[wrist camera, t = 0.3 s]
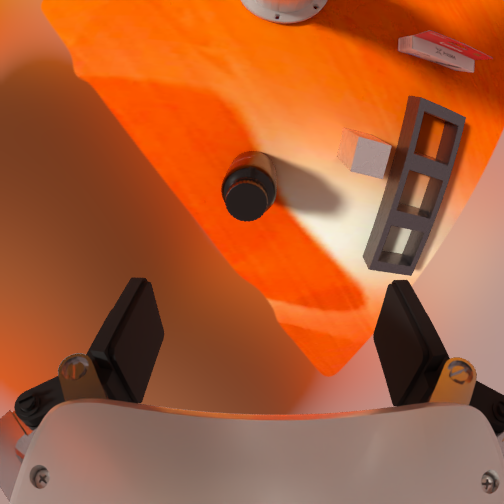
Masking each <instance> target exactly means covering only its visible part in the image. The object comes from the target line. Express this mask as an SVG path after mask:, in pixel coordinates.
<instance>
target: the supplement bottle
mask: <svg viewBox="0 0 504 504" xmlns="http://www.w3.org/2000/svg"><path fill="white" fill-rule="evenodd" d="M276 192H277V185H276V169H275V166H274V164H273V162H272V160H271V159H270V158H269V157H268V156H266V155H265V154H263V153H260V152H257V151H248V152H244V153H242V154H240V155H239V156H237V157H236V158H235V159H234V161H233V162H232V164H231V166H230V167H229V169H228V171H227V174H226V176H225V178H224V180H223V183H222V188H221V193H222V197H223V200H224V202H225V205H226V206H227V209H228V212H229V213H230V214H231V215H232V216H233V217H234V218H236V219H237V220H241V221H254V220H256V219H258V218H260V217H261V216H262V215H263V214H264V212H266V211H267V210H268V209H269V208H270V207H271V206H272V204H273V203H274V201H275V198H276Z"/></svg>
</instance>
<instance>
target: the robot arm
mask: <svg viewBox="0 0 504 504" xmlns="http://www.w3.org/2000/svg"><path fill="white" fill-rule="evenodd" d="M241 2H242V4H243V5H244V6H245V7H246V8H247V9H248V10H249V11H250V12H251V13H253V14H254V15H256V16H258V17H259V18H261V19H264V20H267V21H270V22H275V23H284V24H289V23H297V22H301V21H305V20H307V19H309V18H311V17H313V16H314V15H316V14H317V13H318V12H319V11H320V10H321V9H322V8H323V7H324V5H325V4H326V2H327V0H241ZM313 7H316V8H317V9H314V8H313ZM276 17H279V19H276ZM163 338H164V330H163V326H162V322H161V319H160V315H159V311H158V308H157V304H156V300H155V296H154V292H153V288H152V285H151V283H150V282H148V281H147V279H146V278H131V279H130V281H129V283H128V284H127V286H126V287H125V289H124V291H123V292H122V294H121V296H120V297H119V299H118V301H117V303H116V304H115V306H114V308H113V309H112V310H111V311H110V313H109V315H108V316H107V318H106V320H105V321H104V324H103V325H102V327H101V329H100V330H99V332H98V334H97V336H96V338H95V340H94V341H93V343H92V345H91V347H90V349H89V351H88V352H87V354H86V355H85V354H82V353H77V354H73V355H70V356H68V357H66V358H65V359H64V360H63V361H62V362H61V364H60V365H59V368H58V376H57V377H55V378H53V379H51V380H48V381H46V382H44V383H42V384H40V385H38V386H36V387H34V388H31V389H29V390H28V391H25V392H24V393H22V394H21V395H20V396H19V397H18V399H17V400H16V402H15V411H13V412H11V411H10V410H9V412H7V413H6V414H5V415H4V416H2V418H0V487H1V489H2V491H3V492H4V494H5V495H6V497H7V499H8V500H9V502H10V504H504V395H502V394H500V393H498V392H496V391H495V390H493V389H491V388H489V387H487V386H485V385H484V384H482V383H480V382H478V381H476V378H477V373H476V370H475V368H474V366H473V365H472V364H471V363H470V362H469V361H467V360H466V359H463V358H460V357H454V358H451V359H450V358H449V356H448V354H447V352H446V350H445V348H444V346H443V344H442V342H441V340H440V337H439V336H438V334H437V332H436V330H435V328H434V326H433V324H432V322H431V320H430V318H429V316H428V315H427V313H426V312H425V310H424V308H423V306H422V304H421V302H420V301H419V299H418V297H417V295H416V294H415V292H414V290H413V288H412V287H411V285H410V283H409V282H408V280H394V281H393V282H392V284H389V285H388V288H387V291H386V295H385V298H384V302H383V305H382V308H381V312H380V315H379V318H378V321H377V325H376V328H375V331H374V343H375V346H376V349H377V352H378V355H379V358H380V362H381V365H382V368H383V372H384V375H385V378H386V382H387V386H388V389H389V393H390V397H391V400H392V403H393V405H394V406H397V407H389V408H381V409H372V410H362V411H352V412H340V413H325V414H300V415H255V414H254V415H253V414H231V413H214V412H203V411H191V410H182V409H174V408H166V407H159V406H151V405H144V404H138V403H141V402H142V400H143V397H144V394H145V391H146V388H147V385H148V382H149V379H150V376H151V373H152V370H153V367H154V364H155V361H156V358H157V356H158V352H159V350H160V347H161V344H162V341H163Z"/></svg>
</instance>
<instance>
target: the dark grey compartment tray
mask: <svg viewBox="0 0 504 504" xmlns="http://www.w3.org/2000/svg"><path fill="white" fill-rule="evenodd" d="M424 113H426V114H428V115H431V116H433V117H436V118H438V119H441V120H443V121H445V125H444V130H443V134H442V138H441V141H440V145H439V149H438V153H437V156H436V159H435V158H432V157H430V156H427V155H424V154H421V153H418V152H415V147H416V143H417V139H418V135H419V131H420V127H421V123H422V119H423V114H424ZM465 119H466V117H464V116H462V115H460V114H457V113H455V112H453V111H451V110H449V109H447V108H444V107H442V106H440V105H438V104H435V103H433V102H431V101H428V100H426V99H423V98H421V97H415V96H409V97H408V102H407V107H406V112H405V116H404V120H403V125H402V129H401V133H400V137H399V141H398V145H397V149H396V153H395V156H394V160H393V164H392V167H391V171H390V174H389V178H388V181H387V185H386V188H385V191H384V195H383V198H382V201H381V204H380V207H379V211H378V214H377V217H376V220H375V223H374V226H373V229H372V232H371V235H370V237H369V240H368V243H367V246H366V249H365V251H364V254H363V258H364V260H365V262H366V264H367V267H368V269H370V270H376V271H383V272H390V273H396V274H403V275H410V276H411V275H412V273H413V271H414V268H415V266H416V264H417V262H418V260H419V257H420V255H421V253H422V250H423V248H424V246H425V243H426V241H427V238H428V236H429V233H430V231H431V228H432V226H433V223H434V221H435V218H436V215H437V213H438V210H439V207H440V204H441V202H442V199H443V196H444V193H445V190H446V187H447V184H448V181H449V178H450V175H451V171H452V168H453V165H454V161H455V158H456V154H457V151H458V147H459V143H460V140H461V136H462V132H463V127H464V123H465ZM409 170H411V171H415V172H418V173H421V174H424V175H427V176H430V180H429V183H428V186H427V189H426V192H425V195H424V198H423V201H422V204H421V207H420V208H416V207H412V206H408V205H404V204H400V203H399V201H400V198H401V195H402V192H403V189H404V185H405V182H406V179H407V175H408V172H409ZM391 225H392V226H397V227H402V228H406V229H411V230H412V231H411V234H410V236H409V239H408V242H407V244H406V247H405V249H404V251H403V254H399V253H393V252H388V251H382V249H383V246H384V244H385V241H386V238H387V236H388V233H389V230H390V227H391Z"/></svg>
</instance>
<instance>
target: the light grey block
mask: <svg viewBox="0 0 504 504" xmlns="http://www.w3.org/2000/svg"><path fill="white" fill-rule="evenodd" d="M390 150H391V145H389V144H388V143H386V142H384V141H382V140H380V139H378V138H377V137H375V136H373V135H370V134H367V133H363V132H359V131H355V130H351V129H347V128H343V131H342V136H341V140H340V145H339V149H338V154H337V157H338V158H339V159H340V160H341V161H342V163H343V164H344V165H345V166H346V167H347V168H348V169H349V170H350V171H351V172H356V173H360V174H364V175H368V176H372V177H376V178H380V179H383V176H384V173H385V169H386V165H387V162H388V158H389V154H390Z"/></svg>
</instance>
